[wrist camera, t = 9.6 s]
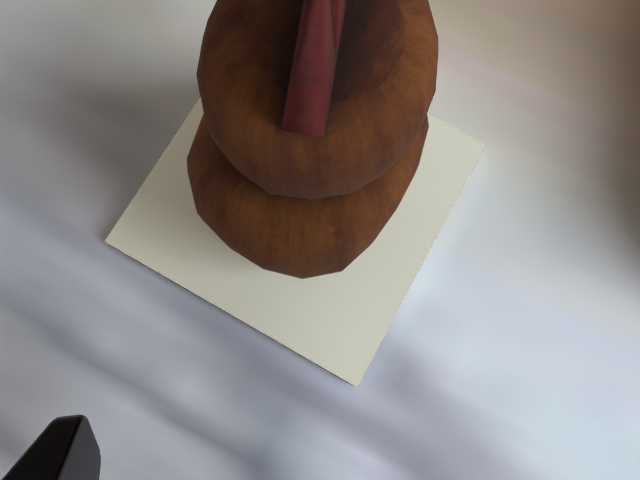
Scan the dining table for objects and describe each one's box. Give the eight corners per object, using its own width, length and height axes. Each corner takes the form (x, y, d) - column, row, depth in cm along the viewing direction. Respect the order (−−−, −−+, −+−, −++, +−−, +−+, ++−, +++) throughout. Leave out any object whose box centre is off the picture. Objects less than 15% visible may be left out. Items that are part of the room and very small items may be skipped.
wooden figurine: (322, 321, 20) (427, 238, 5) (182, 232, 20) (-90, -82, 6) (419, 163, 21) (723, -258, 7) (286, 82, 22) (291, -497, 7)
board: (354, 386, 20) (356, 387, 20) (109, 244, 21) (104, 241, 20) (480, 150, 22) (485, 145, 22) (253, 25, 23) (253, 16, 22)
